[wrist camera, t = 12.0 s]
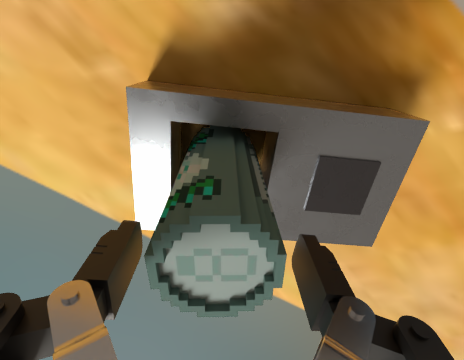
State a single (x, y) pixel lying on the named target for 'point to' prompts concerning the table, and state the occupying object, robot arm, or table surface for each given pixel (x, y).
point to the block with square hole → (281, 155)
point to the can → (217, 230)
